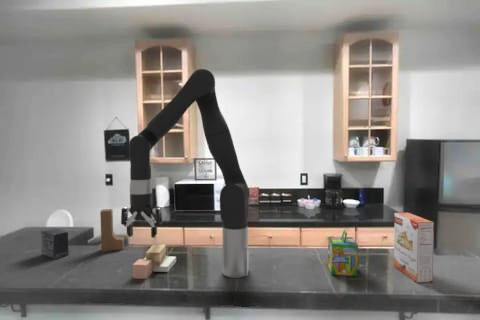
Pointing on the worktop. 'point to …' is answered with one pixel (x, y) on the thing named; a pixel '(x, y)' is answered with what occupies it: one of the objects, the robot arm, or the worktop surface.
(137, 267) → the cube
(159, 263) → the tan rectangular block
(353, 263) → the chalk box
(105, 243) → the wooden block
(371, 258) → the worktop surface
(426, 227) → the cracker box
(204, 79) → the robot arm
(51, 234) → the small box
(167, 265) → the pad
